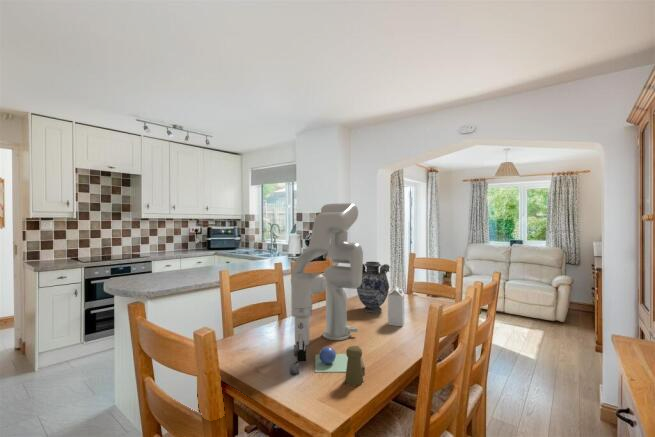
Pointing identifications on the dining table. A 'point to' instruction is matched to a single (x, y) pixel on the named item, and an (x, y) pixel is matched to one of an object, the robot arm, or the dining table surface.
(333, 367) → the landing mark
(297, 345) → the post
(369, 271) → the decorative vase
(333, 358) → the ball
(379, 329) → the dining table surface
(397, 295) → the milk carton
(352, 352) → the olive knobbed tapered cylinder
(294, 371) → the post
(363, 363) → the stopper strip
